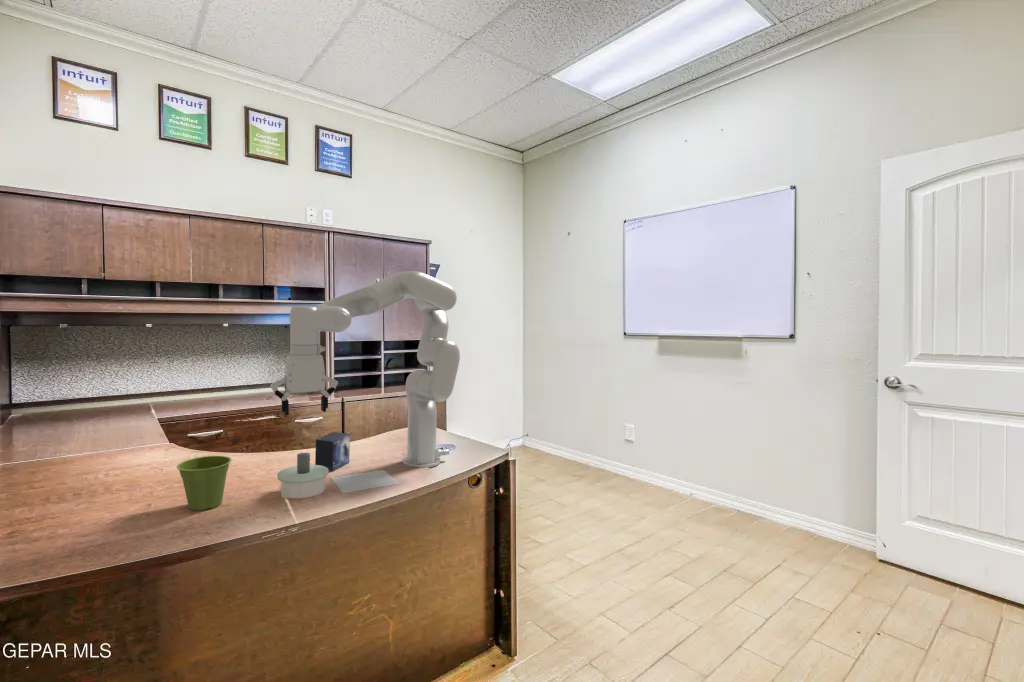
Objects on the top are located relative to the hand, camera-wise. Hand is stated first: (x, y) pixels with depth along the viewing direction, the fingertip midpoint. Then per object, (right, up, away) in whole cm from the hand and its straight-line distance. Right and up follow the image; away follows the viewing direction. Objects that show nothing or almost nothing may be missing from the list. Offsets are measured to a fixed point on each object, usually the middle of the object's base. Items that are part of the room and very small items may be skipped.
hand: (305, 412), depth 135 cm
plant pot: (-21, -23, -10) cm, 33 cm away
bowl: (-1, -22, +1) cm, 22 cm away
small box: (-1, -21, +22) cm, 31 cm away
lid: (-1, -17, 0) cm, 17 cm away
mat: (+13, -22, +10) cm, 28 cm away
